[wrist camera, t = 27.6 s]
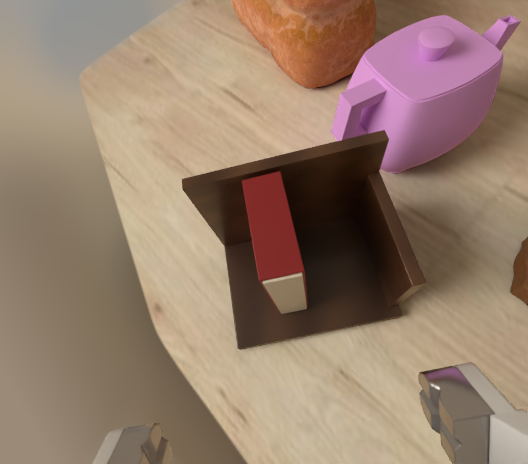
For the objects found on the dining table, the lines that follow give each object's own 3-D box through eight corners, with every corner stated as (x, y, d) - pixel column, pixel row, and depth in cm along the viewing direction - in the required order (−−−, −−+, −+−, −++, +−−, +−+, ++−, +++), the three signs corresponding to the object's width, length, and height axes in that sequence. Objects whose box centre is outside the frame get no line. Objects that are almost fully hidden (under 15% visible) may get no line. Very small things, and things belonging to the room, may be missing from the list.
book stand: (239, 349, 30) (192, 336, 19) (225, 242, 36) (181, 179, 24) (400, 317, 29) (456, 281, 18) (361, 211, 34) (384, 129, 23)
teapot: (362, 209, 35) (385, 129, 23) (307, 138, 40) (304, 45, 29) (509, 131, 36) (600, 19, 24) (436, 72, 41) (482, -42, 30)
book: (279, 315, 30) (259, 284, 19) (265, 241, 34) (241, 180, 23) (309, 308, 30) (305, 274, 19) (291, 235, 33) (280, 170, 23)
